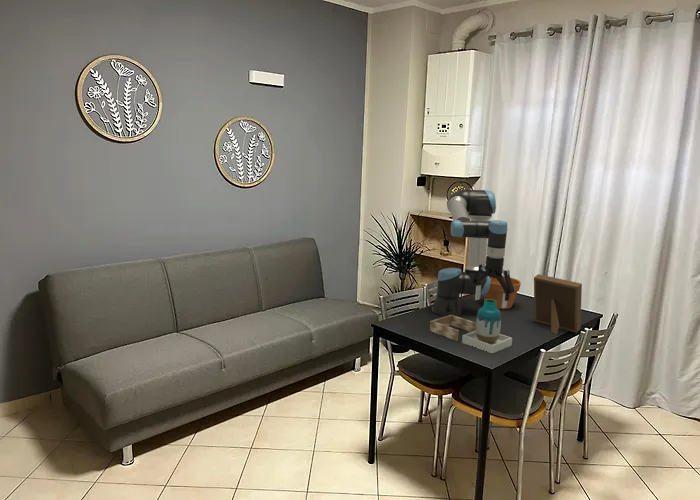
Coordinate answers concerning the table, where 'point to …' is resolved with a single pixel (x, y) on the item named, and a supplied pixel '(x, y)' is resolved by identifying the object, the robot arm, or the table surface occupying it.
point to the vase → (488, 322)
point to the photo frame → (557, 303)
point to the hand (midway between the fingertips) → (490, 303)
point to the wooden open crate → (443, 325)
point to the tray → (489, 347)
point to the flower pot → (501, 292)
